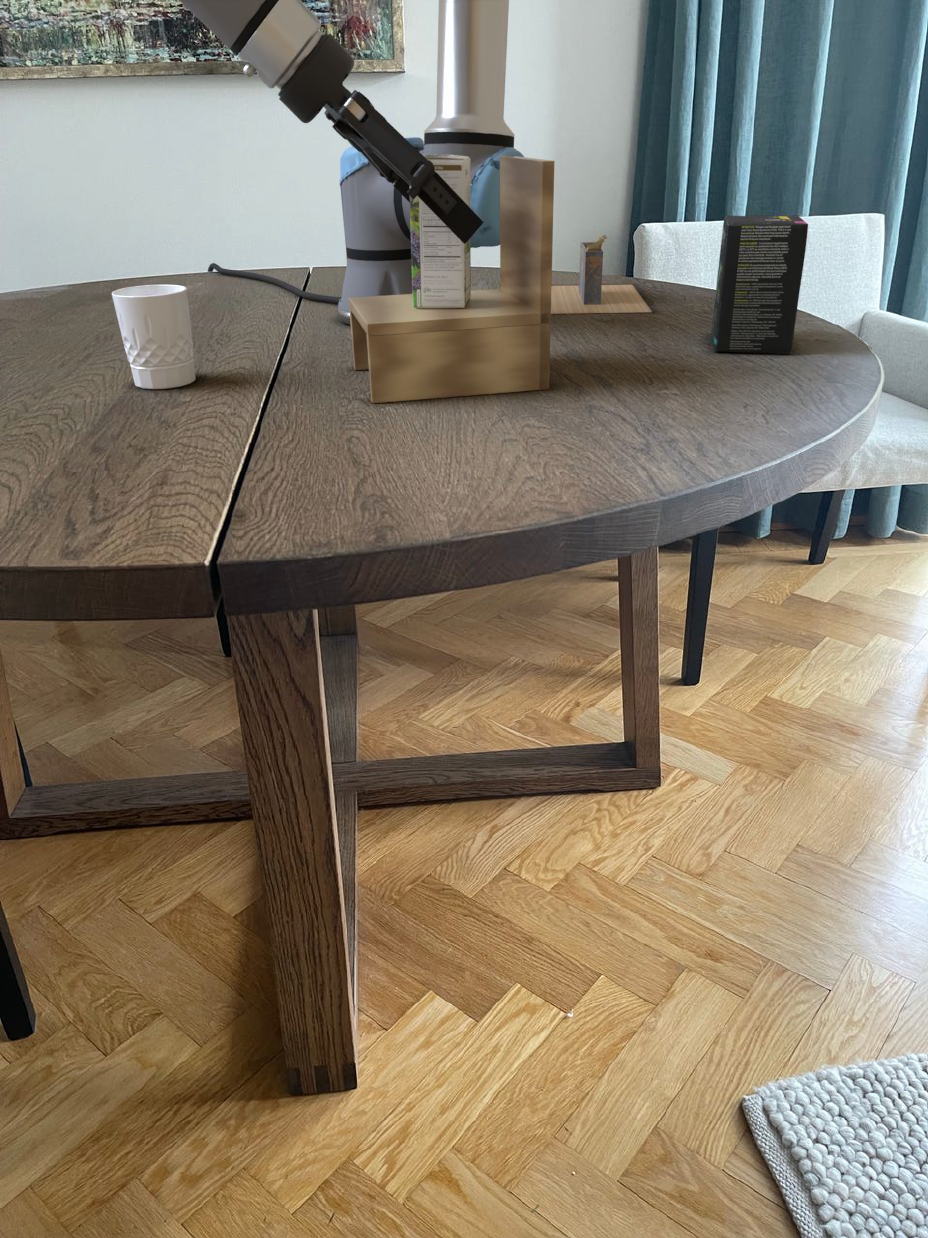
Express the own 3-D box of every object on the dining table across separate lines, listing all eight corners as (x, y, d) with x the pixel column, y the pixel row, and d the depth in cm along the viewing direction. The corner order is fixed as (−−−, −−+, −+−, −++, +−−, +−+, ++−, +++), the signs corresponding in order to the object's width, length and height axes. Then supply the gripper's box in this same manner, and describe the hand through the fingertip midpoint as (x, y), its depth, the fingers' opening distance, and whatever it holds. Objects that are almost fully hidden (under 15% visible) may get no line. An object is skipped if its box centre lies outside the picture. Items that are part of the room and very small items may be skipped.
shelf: (372, 403, 96) (356, 167, 85) (353, 368, 110) (338, 160, 99) (549, 389, 100) (554, 160, 89) (509, 356, 113) (510, 155, 103)
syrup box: (420, 299, 104) (414, 154, 97) (472, 299, 103) (470, 153, 96) (412, 309, 99) (405, 156, 92) (467, 309, 98) (465, 155, 91)
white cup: (214, 375, 108) (201, 285, 103) (174, 393, 101) (158, 297, 96) (156, 371, 110) (141, 283, 105) (114, 388, 103) (95, 294, 99)
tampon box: (792, 355, 111) (812, 222, 104) (713, 353, 113) (726, 222, 106) (783, 336, 120) (801, 213, 113) (710, 334, 122) (723, 213, 115)
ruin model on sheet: (652, 312, 136) (657, 241, 132) (540, 313, 137) (541, 243, 133) (632, 284, 158) (636, 222, 154) (536, 286, 159) (537, 224, 155)
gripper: (268, 96, 99) (413, 241, 109) (281, 90, 77) (460, 270, 88) (313, 37, 97) (456, 189, 107) (339, 14, 76) (515, 206, 86)
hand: (458, 226), depth 97 cm, fingers open, 13 cm apart
